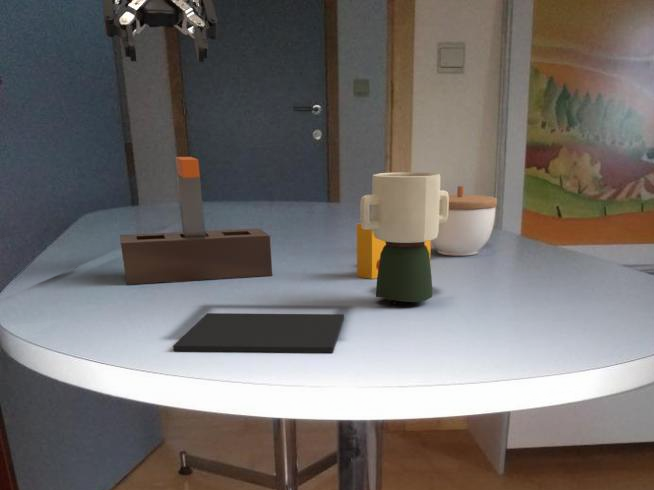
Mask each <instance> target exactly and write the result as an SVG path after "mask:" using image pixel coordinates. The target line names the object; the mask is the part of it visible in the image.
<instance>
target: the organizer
mask: <svg viewBox="0 0 654 490" xmlns="http://www.w3.org/2000/svg"><path fill="white" fill-rule="evenodd" d="M205 234H206V237H186V238H183V231H175V232H154V233H153V232H151V233H131V234H120V235H119V240H120V248H121V254H122V260H123V269H124V274H125V275H124V276H125V280H126V285H127V286H131V284H134V285H146V284H145V283H150V284H158V283H157V282H166V283H174V282H173V281H181V282H193V281H192V280H197V281H206V280H205V279H212V280H224V279H223V278H228V279H238V278H239V279H243V278H242V277H244V278H256V277H257V278H258V277H259V278H260V277H272V276H273V265H272V262H273V261H272V248H271V246H272V245H271V236H270V235H269V233H267V232H265V231H264V230H262V229H261V228H239V229H238V228H237V229H219V230H205ZM171 281H172V282H171Z"/></svg>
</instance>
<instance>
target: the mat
mask: <svg viewBox="0 0 654 490" xmlns="http://www.w3.org/2000/svg"><path fill="white" fill-rule="evenodd" d="M344 320H345V314H343V313H337V314H336V313H234V312H233V313H230V312H228V313H227V312H226V313H225V312H223V313H220V312H215V313H214V312H207V313H205V315H203V317H201V318H200V320H198V321H197V322H196V323H195V324H194V325H193V326H192V327H191V328H190V329H189V330H188V331H187V332H186V333H184V335H183V336H181V337H180V339H179V340H177V341H176V342H175V343H174V344H173V345H172V349H173V352H218V353H219V352H221V353H222V352H223V353H225V352H226V353H227V352H230V353H234V352H235V353H311V354H312V353H316V354H317V353H319V354H320V353H323V354H326V353H327V354H329V353H330V354H333V353H334V351H335V349H336V348H335V347H336V345H337V341H338V338H339V336H340V332H341V329H342V327H343V323H344Z"/></svg>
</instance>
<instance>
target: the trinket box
mask: <svg viewBox="0 0 654 490" xmlns="http://www.w3.org/2000/svg"><path fill="white" fill-rule="evenodd" d="M456 189H457V192H456V194H448V195H449V209H448V219H447V221H446V222H444V223H439V232H438V236H437V238H435V239H433V240H431V246H433V247H434V249H436V251H437V253H438V254H440V255H444V256H454V257H459V256H461V257H462V256H463V257H465V256H473V255H477V254H478V253H479V251H480V250H481V249H482V248H483V247H484V246H485V245H486V244H487V243H488V241H489V239H490V237H491V235H492V234H493V229H494V226H495V221H496V210H497V206H498V198H497V197H495V196H489V195H478V194H465V189H466V188H465V185H457V188H456ZM439 209H440V207H439Z"/></svg>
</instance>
